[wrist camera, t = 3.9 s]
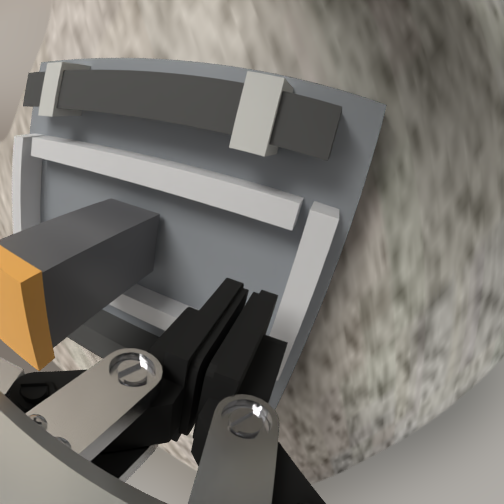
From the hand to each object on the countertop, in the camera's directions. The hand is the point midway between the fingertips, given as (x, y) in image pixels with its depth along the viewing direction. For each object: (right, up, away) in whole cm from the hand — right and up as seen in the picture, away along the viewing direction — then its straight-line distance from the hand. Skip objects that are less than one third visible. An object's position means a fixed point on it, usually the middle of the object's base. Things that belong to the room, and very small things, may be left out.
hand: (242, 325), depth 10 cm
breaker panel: (-5, +4, +6) cm, 8 cm away
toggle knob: (-5, +3, +4) cm, 7 cm away
